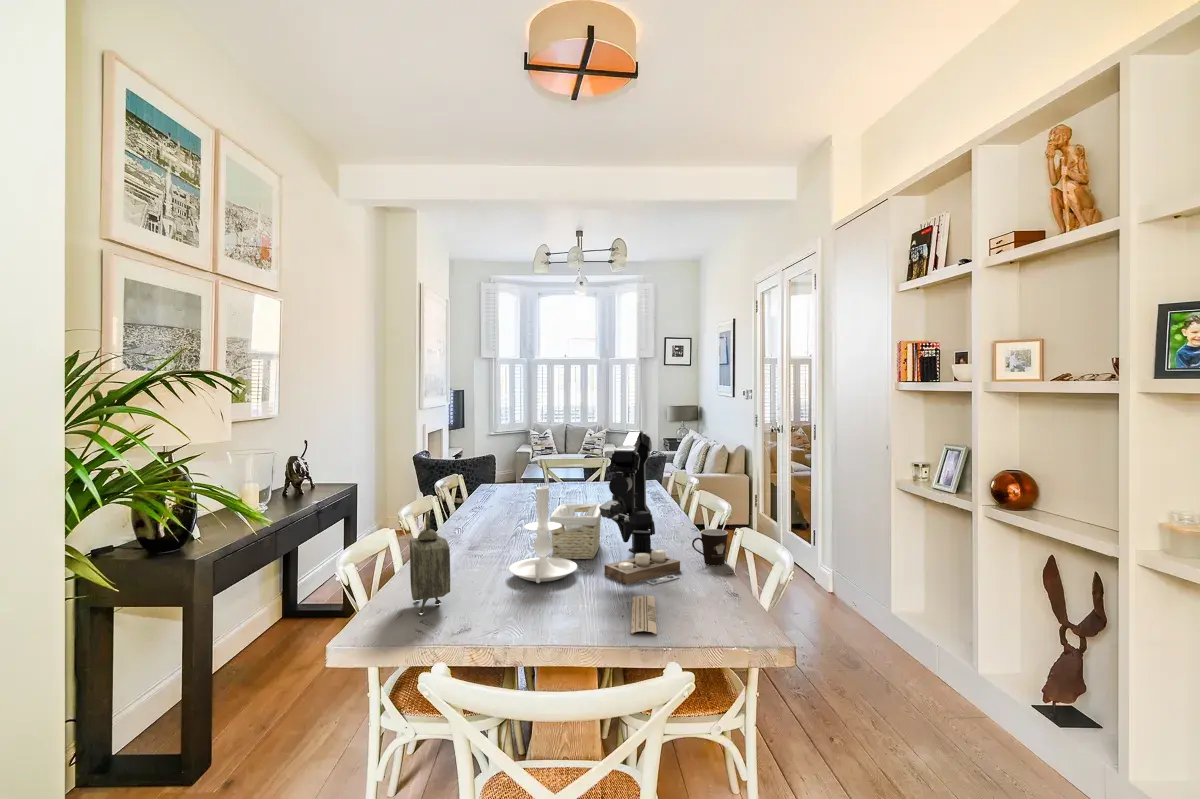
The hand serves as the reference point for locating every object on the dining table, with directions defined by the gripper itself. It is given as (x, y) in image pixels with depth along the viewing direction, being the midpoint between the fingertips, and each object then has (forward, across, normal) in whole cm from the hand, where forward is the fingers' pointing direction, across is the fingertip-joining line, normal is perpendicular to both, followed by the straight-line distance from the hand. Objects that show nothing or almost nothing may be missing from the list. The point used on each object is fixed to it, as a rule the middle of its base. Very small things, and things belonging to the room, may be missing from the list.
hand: (625, 542), depth 182 cm
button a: (+10, 0, 0) cm, 10 cm away
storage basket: (+11, -33, +4) cm, 35 cm away
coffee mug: (+11, +5, +31) cm, 33 cm away
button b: (+8, 0, +7) cm, 11 cm away
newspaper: (+12, +27, -15) cm, 33 cm away
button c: (+8, 0, +13) cm, 16 cm away
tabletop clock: (+11, -11, -56) cm, 59 cm away
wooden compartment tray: (+10, 0, +7) cm, 12 cm away
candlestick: (+11, -13, -21) cm, 27 cm away
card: (+10, +9, +7) cm, 15 cm away
